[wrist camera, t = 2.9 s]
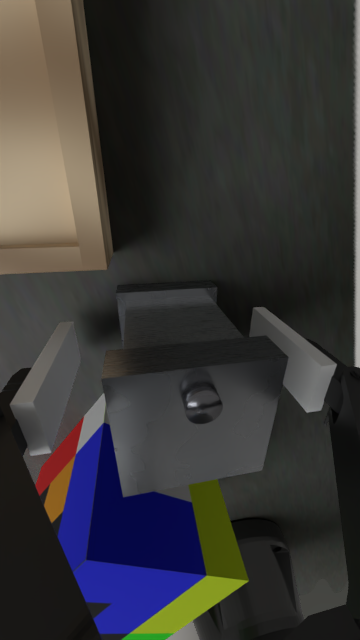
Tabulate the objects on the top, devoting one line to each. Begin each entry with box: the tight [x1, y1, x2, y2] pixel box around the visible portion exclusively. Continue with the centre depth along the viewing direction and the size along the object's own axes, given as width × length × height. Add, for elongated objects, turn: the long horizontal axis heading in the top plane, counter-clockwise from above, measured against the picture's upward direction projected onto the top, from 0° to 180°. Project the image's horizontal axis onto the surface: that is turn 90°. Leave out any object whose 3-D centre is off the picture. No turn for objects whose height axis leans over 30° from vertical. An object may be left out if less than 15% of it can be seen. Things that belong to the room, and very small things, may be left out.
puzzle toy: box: [36, 393, 249, 640], centre depth 17 cm, size 10×10×10 cm
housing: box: [101, 280, 289, 497], centre depth 13 cm, size 6×6×10 cm
